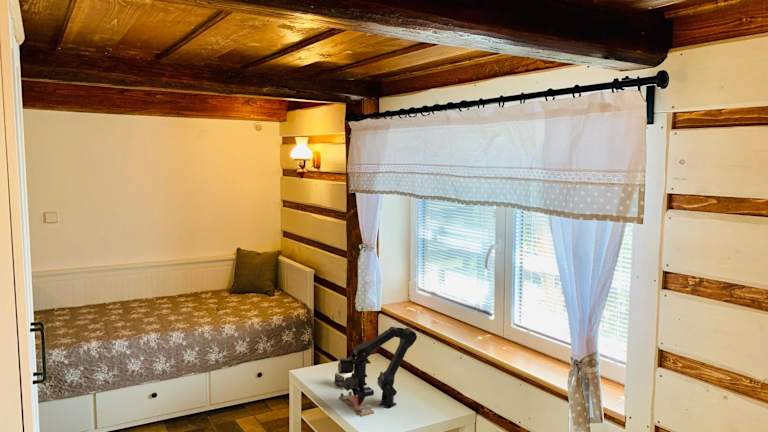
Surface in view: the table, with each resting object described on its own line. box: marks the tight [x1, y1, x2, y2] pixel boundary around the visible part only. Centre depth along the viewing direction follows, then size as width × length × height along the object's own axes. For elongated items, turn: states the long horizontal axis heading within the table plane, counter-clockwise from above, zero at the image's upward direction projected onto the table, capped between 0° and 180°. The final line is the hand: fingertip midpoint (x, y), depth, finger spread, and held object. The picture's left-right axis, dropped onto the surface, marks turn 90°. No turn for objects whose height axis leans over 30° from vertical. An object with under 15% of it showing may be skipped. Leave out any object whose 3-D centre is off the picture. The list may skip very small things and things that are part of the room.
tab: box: [347, 395, 364, 407], centre depth 271 cm, size 10×4×4 cm, turn 33°
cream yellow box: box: [334, 371, 353, 391], centre depth 292 cm, size 7×7×12 cm
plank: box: [338, 391, 375, 417], centre depth 269 cm, size 22×7×4 cm, turn 33°
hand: (357, 403), depth 268 cm, fingers closed on tab, 3 cm apart
